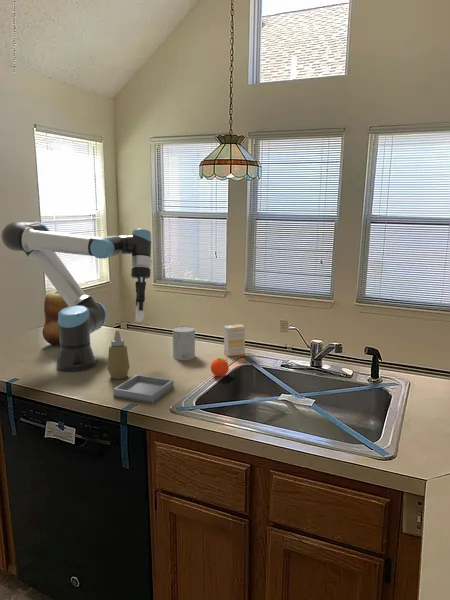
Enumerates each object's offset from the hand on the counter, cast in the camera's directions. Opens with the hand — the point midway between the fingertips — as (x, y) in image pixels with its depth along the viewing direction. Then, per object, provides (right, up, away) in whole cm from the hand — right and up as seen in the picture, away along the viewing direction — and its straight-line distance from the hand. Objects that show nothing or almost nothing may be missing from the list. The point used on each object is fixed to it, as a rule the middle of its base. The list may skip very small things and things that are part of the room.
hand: (139, 320), depth 182 cm
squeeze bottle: (-6, -21, -8) cm, 23 cm away
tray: (+6, -24, -22) cm, 33 cm away
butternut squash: (-43, -13, +32) cm, 55 cm away
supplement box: (+38, -16, +20) cm, 46 cm away
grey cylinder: (+16, -16, +16) cm, 28 cm away
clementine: (+32, -21, -5) cm, 39 cm away
